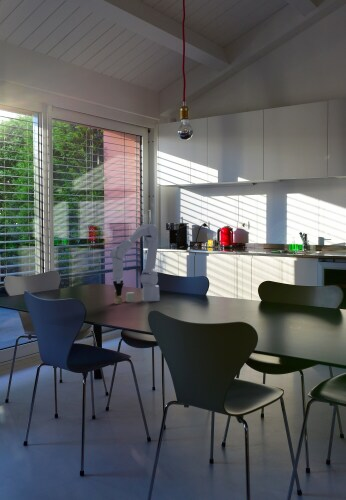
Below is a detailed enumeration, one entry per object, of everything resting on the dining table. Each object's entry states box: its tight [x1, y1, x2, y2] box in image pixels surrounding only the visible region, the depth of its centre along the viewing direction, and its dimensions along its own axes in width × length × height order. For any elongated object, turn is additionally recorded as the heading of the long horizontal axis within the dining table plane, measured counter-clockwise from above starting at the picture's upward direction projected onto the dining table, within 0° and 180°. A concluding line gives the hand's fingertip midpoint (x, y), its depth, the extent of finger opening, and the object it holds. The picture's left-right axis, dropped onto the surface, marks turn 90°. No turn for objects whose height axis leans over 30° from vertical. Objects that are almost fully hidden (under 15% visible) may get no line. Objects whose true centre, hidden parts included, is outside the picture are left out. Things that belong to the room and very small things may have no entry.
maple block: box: [114, 289, 123, 305], centre depth 292 cm, size 4×4×7 cm
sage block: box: [125, 291, 136, 303], centre depth 298 cm, size 4×4×5 cm
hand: (118, 294), depth 286 cm, fingers open, 7 cm apart
